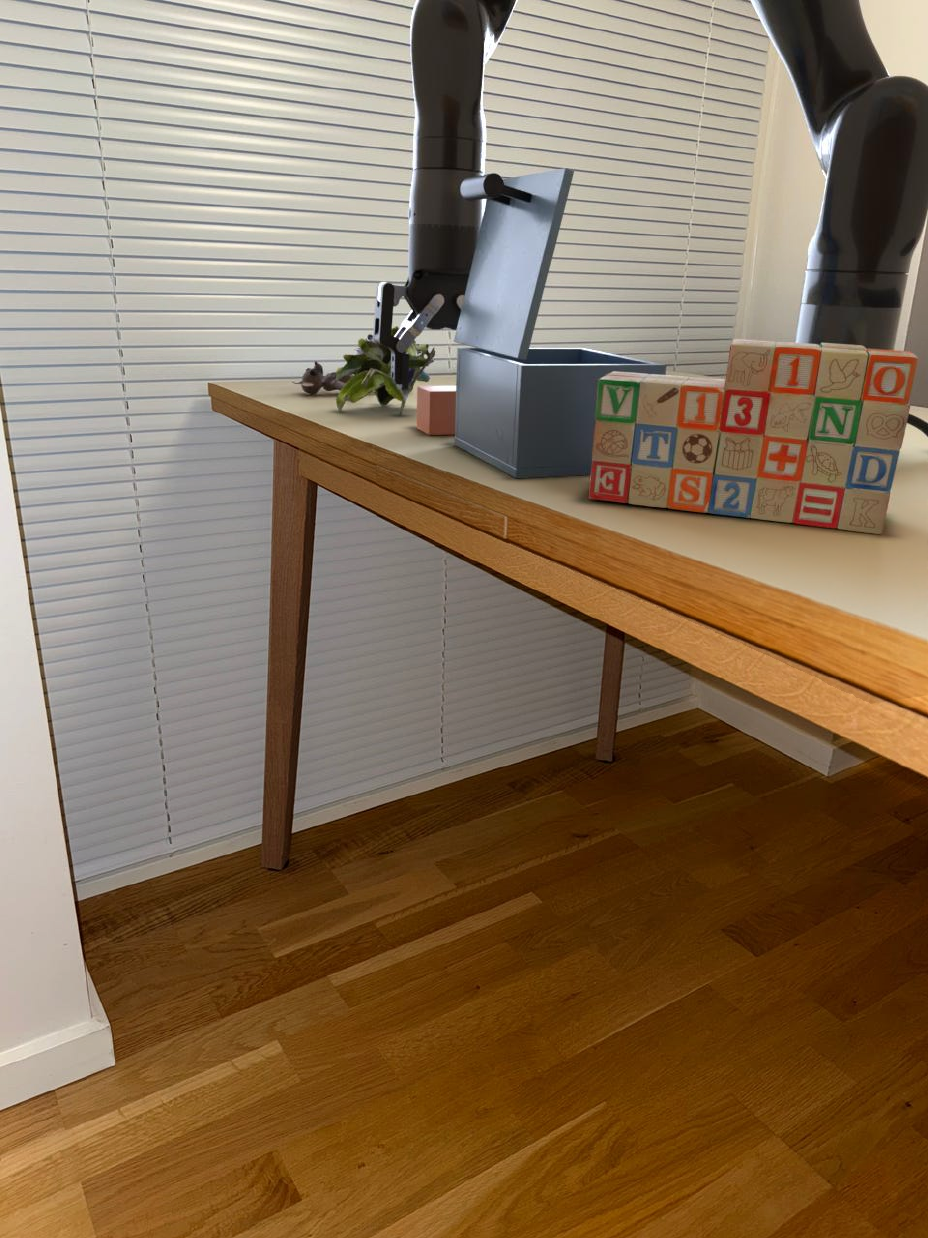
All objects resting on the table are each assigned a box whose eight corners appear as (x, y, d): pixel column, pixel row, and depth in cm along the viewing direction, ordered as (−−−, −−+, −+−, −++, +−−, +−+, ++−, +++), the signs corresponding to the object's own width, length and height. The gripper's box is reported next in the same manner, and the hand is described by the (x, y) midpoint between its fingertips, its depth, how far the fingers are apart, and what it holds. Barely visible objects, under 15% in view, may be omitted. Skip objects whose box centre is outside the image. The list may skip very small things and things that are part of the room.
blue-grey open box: (577, 440, 97) (584, 348, 94) (655, 471, 83) (666, 364, 80) (454, 444, 92) (457, 347, 89) (515, 478, 79) (521, 365, 76)
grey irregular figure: (427, 376, 120) (321, 366, 113) (424, 409, 121) (318, 402, 114) (373, 361, 135) (276, 352, 128) (371, 391, 136) (274, 384, 129)
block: (455, 427, 102) (456, 385, 101) (469, 434, 98) (471, 390, 97) (416, 428, 101) (416, 385, 99) (429, 435, 97) (430, 391, 95)
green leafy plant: (382, 449, 117) (426, 367, 118) (420, 448, 108) (467, 359, 109) (308, 399, 112) (354, 314, 113) (341, 394, 102) (391, 301, 103)
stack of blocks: (586, 501, 72) (599, 335, 67) (601, 485, 77) (615, 330, 73) (884, 534, 66) (921, 353, 61) (878, 514, 71) (911, 347, 67)
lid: (498, 183, 85) (446, 165, 83) (574, 170, 72) (514, 149, 69) (461, 343, 89) (410, 330, 87) (526, 360, 76) (468, 345, 73)
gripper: (387, 217, 87) (385, 394, 92) (527, 226, 91) (517, 394, 97) (367, 219, 93) (366, 384, 99) (499, 227, 98) (490, 384, 104)
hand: (441, 389), depth 98 cm, fingers open, 8 cm apart
